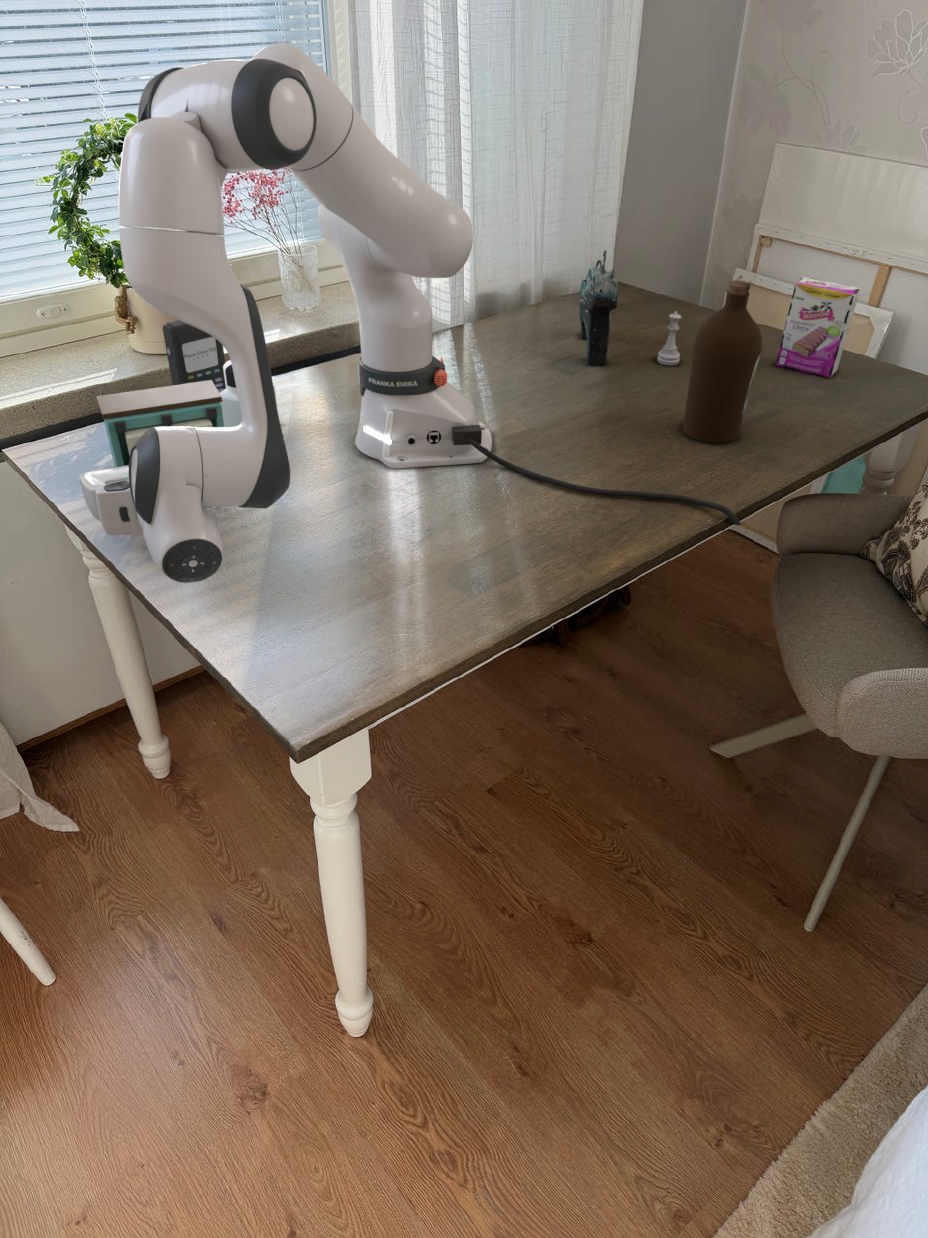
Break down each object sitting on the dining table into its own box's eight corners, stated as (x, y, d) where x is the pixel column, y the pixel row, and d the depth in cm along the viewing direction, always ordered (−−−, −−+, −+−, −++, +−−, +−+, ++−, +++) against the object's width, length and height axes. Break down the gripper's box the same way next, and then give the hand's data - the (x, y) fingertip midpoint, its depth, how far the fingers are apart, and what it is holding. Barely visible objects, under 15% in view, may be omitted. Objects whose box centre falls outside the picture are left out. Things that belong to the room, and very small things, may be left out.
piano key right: (217, 457, 136) (212, 424, 133) (179, 464, 134) (173, 430, 131) (212, 448, 139) (207, 414, 136) (174, 454, 137) (168, 420, 134)
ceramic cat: (611, 369, 179) (624, 263, 167) (578, 368, 179) (589, 262, 167) (600, 333, 195) (612, 234, 183) (570, 332, 195) (579, 233, 183)
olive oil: (686, 445, 153) (714, 293, 138) (673, 418, 161) (698, 272, 146) (749, 445, 153) (784, 294, 138) (732, 418, 162) (763, 273, 147)
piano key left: (173, 465, 134) (167, 431, 131) (134, 472, 132) (126, 437, 129) (169, 455, 137) (163, 421, 134) (130, 461, 135) (123, 427, 132)
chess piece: (662, 355, 185) (670, 305, 179) (682, 360, 183) (691, 310, 177) (653, 362, 182) (660, 311, 176) (673, 367, 180) (681, 316, 174)
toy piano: (235, 477, 141) (224, 401, 133) (121, 497, 135) (103, 419, 128) (221, 450, 148) (210, 376, 140) (112, 468, 142) (94, 393, 135)
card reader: (185, 415, 158) (170, 329, 149) (174, 407, 160) (158, 322, 151) (232, 401, 163) (220, 317, 154) (221, 394, 165) (209, 311, 156)
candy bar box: (774, 366, 182) (794, 281, 172) (781, 358, 186) (801, 275, 176) (831, 379, 177) (854, 293, 168) (838, 371, 181) (861, 286, 171)
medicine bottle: (279, 425, 156) (272, 356, 148) (258, 443, 150) (250, 372, 143) (242, 418, 157) (233, 350, 150) (220, 435, 152) (210, 365, 145)
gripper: (245, 466, 122) (222, 424, 132) (82, 494, 115) (71, 448, 125) (250, 508, 126) (227, 464, 136) (93, 537, 119) (82, 489, 129)
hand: (151, 456), depth 130 cm, fingers closed
